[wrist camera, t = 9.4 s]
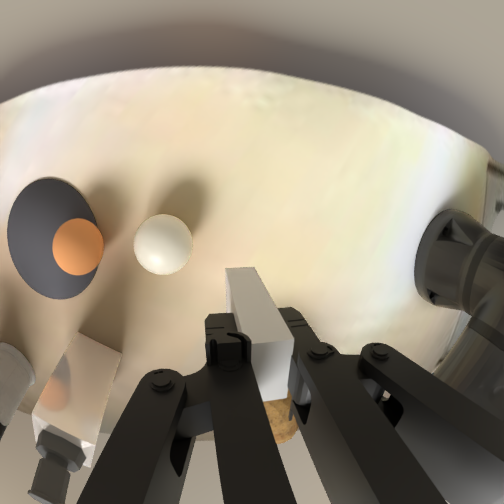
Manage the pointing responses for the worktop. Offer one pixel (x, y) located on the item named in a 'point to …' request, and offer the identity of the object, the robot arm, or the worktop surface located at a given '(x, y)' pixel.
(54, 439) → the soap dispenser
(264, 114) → the worktop surface
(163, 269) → the cue ball
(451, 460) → the robot arm
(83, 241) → the object ball
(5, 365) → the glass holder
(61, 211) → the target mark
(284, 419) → the potato
